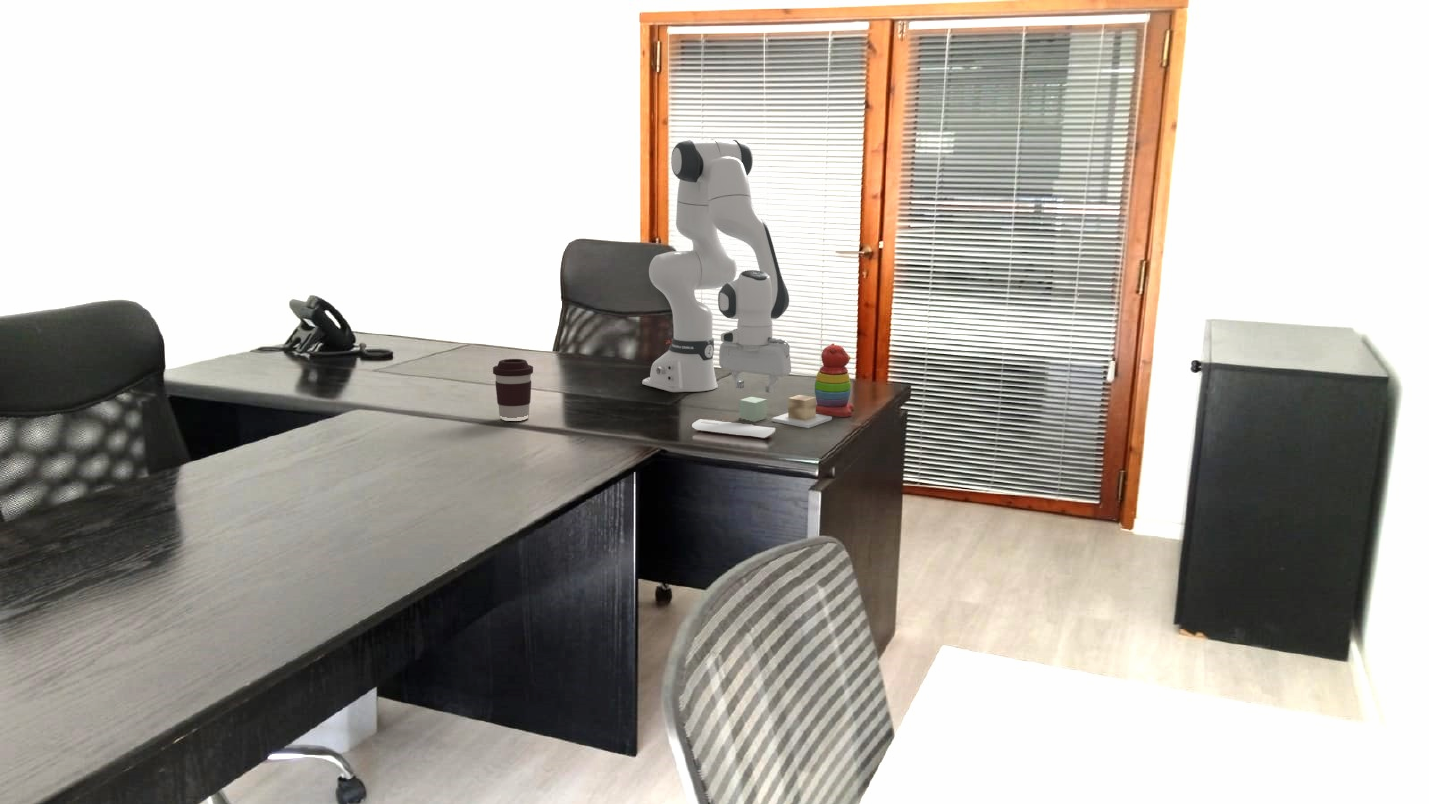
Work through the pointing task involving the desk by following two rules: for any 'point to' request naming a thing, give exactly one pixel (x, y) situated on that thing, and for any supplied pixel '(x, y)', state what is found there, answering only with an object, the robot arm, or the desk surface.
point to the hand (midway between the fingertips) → (754, 390)
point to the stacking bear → (833, 383)
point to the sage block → (753, 409)
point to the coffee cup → (513, 387)
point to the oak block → (802, 407)
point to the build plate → (802, 423)
